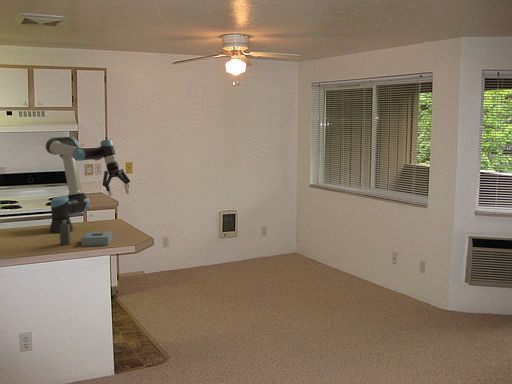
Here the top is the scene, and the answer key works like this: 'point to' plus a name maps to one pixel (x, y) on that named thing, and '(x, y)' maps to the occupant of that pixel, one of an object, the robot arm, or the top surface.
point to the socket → (97, 238)
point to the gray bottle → (65, 233)
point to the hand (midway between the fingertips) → (119, 194)
